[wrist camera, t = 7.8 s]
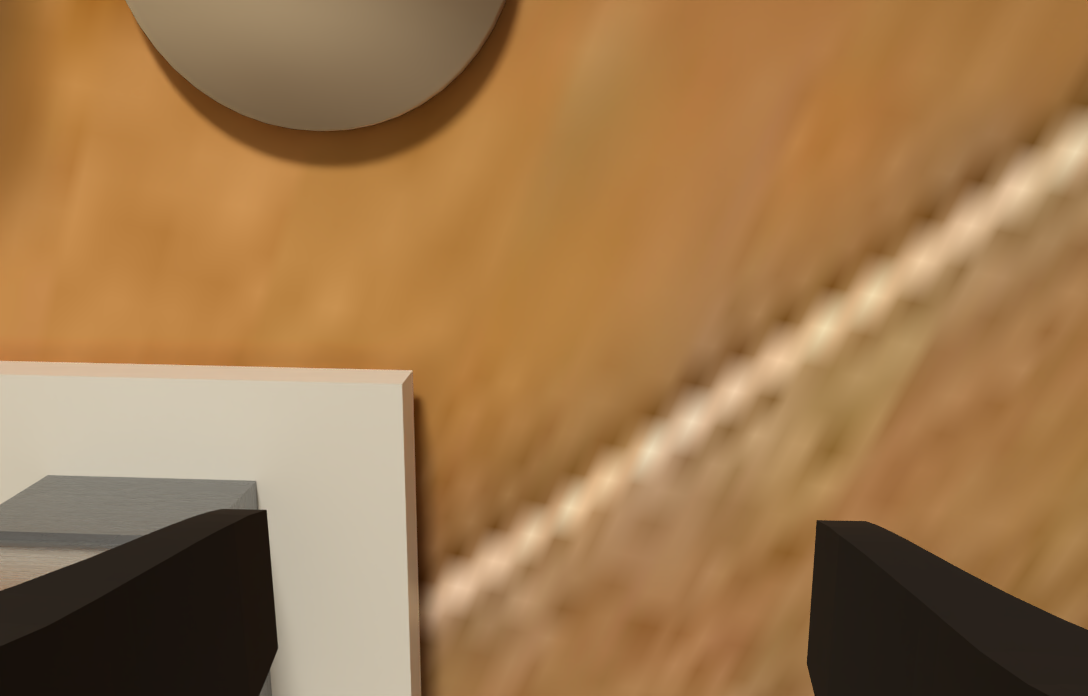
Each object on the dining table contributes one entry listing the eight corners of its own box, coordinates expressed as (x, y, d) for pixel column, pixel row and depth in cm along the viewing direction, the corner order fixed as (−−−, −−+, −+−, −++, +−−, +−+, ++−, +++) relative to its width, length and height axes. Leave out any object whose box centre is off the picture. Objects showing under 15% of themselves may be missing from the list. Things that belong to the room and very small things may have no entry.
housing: (275, 742, 22) (162, 957, 16) (81, 734, 23) (-98, 942, 17) (256, 480, 21) (123, 615, 15) (47, 475, 21) (-163, 605, 15)
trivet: (428, 786, 24) (415, 836, 23) (6, 766, 25) (-38, 813, 23) (417, 364, 22) (402, 384, 20) (-57, 353, 22) (-113, 371, 21)
